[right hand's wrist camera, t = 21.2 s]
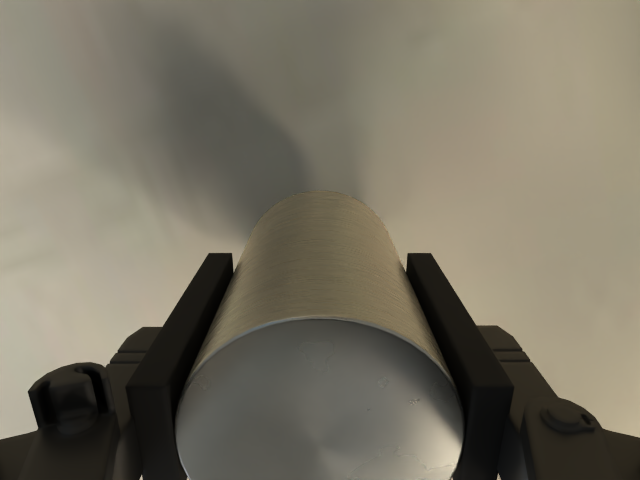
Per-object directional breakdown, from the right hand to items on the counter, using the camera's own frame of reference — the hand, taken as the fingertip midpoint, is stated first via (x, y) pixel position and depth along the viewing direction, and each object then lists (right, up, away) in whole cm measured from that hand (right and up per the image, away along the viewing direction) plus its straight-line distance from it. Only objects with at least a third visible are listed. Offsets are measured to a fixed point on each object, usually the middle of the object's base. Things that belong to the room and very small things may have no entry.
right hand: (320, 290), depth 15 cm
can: (0, +1, +2) cm, 3 cm away
